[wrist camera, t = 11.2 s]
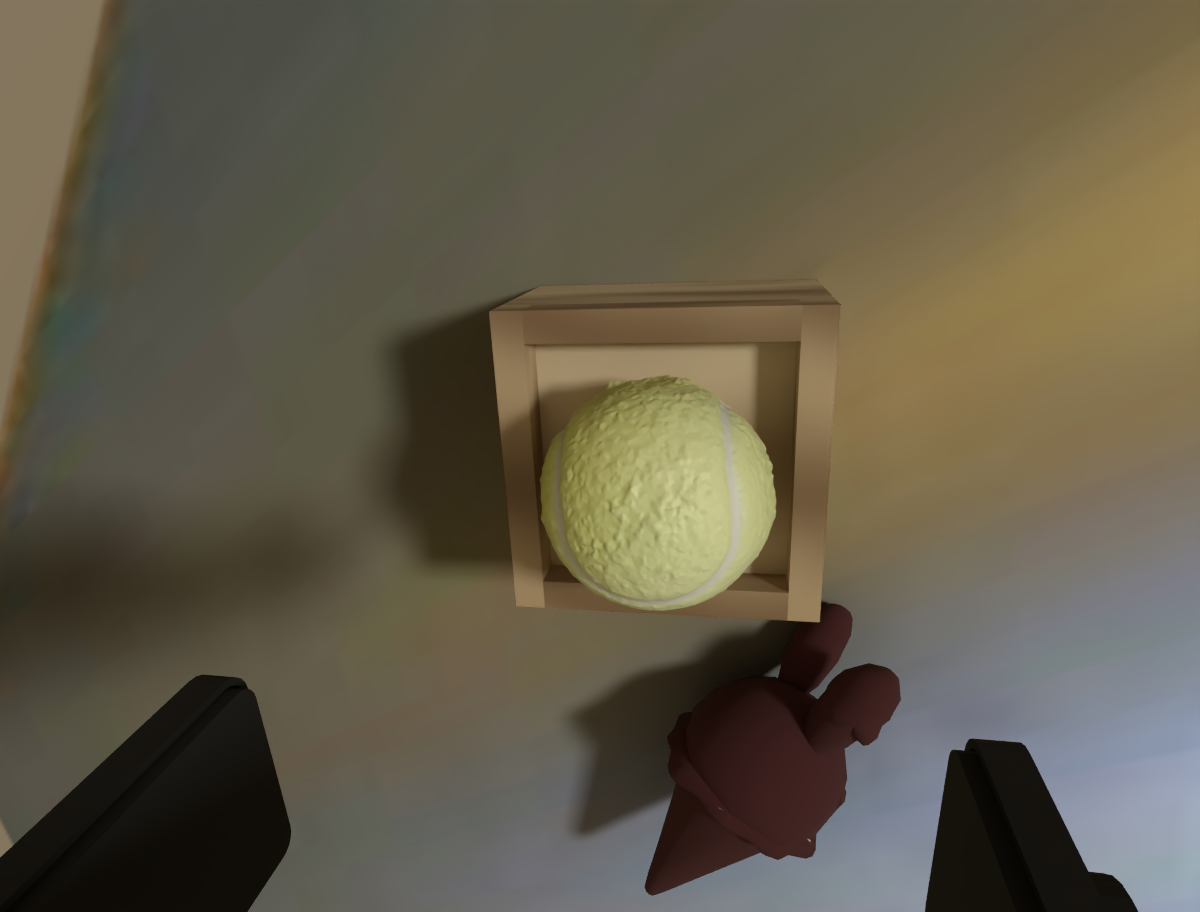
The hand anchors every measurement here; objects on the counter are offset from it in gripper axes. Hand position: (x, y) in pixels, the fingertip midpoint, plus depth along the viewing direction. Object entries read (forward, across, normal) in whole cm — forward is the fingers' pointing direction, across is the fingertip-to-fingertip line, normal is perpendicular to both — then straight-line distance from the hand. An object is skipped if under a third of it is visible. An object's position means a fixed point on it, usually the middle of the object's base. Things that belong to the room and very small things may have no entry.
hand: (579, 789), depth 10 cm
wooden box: (+20, 0, +1) cm, 20 cm away
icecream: (+20, -3, +15) cm, 25 cm away
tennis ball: (+15, 0, +1) cm, 15 cm away
